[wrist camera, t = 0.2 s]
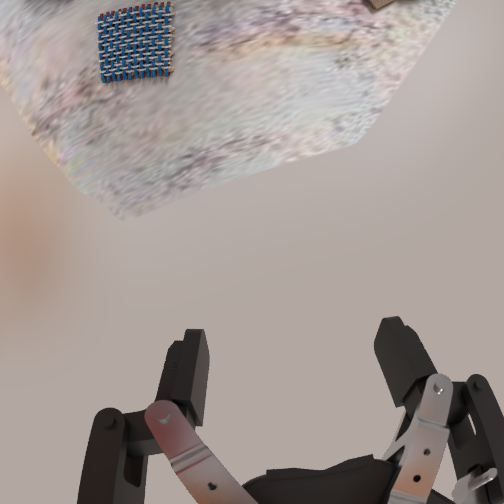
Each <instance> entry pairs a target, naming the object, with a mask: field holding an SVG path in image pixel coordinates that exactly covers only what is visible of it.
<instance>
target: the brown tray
mask: <svg viewBox="0 0 504 504" xmlns="http://www.w3.org/2000/svg"><path fill="white" fill-rule="evenodd" d="M367 1H368V2H369V3H370V5H371V6H372V7H373V9H378V8H379V7H381V6H383V5H385V4H387V3H389V2H391V1H393V0H367Z"/></svg>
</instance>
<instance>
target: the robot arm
mask: <svg viewBox="0 0 504 504" xmlns="http://www.w3.org/2000/svg"><path fill="white" fill-rule="evenodd" d="M374 351H375V354H376V357H377V359H378V362H379V364H380V367H381V369H382V372H383V374H384V377H385V379H386V382H387V385H388V387H389V390H390V393H391V395H392V398H393V401H394V404H395V406H396V408H397V407H400V406H405V409H406V410H405V411H404V413H403V416H402V418H401V421H400V424H399V426H398V429H397V431H396V433H395V436H394V438H393V441H392V443H391V445H390V447H389V448H388V450H387V451H386V452H385V454H384V456H383V457H382V459H381V460H379V459H374V458H373V454H371V455H367V456H362V457H358V458H354V459H349V460H346V461H344V462H342V463H340V464H338V465H335V466H333V467H330V468H328V469H325V470H309V469H300V468H288V469H272V470H267V471H266V474H265V475H262V476H259V477H256V478H254V479H251V480H249V481H248V482H246V483H245V484H243V485H242V486H241V485H240V484H239V483H238V482H237V481H236V480H235V478H234V477H233V476H232V475H231V474H230V473H229V472H228V471H227V469H226V468H225V467H224V466H223V465H222V464H221V462H220V461H219V460H218V459H217V458H216V456H215V455H214V454H213V453H212V451H210V449H209V448H208V447H207V446H206V445H205V444H204V443H203V441H202V440H201V439H200V438H199V436H198V435H197V434H196V432H195V426H202V425H203V416H204V407H205V398H206V388H207V380H208V371H209V350H208V345H207V341H206V336H205V332H204V330H203V329H187V330H186V332H185V335H184V340H183V341H174V343H173V344H172V345H171V346H170V348H169V349H168V352H167V356H166V361H165V363H164V369H163V371H162V375H161V379H160V383H159V387H158V391H157V396H156V399H155V401H154V402H153V403H152V404H150V405H149V406H148V407H147V409H145V410H142V411H138V412H132V413H125V414H122V413H121V412H120V411H119V410H118V409H115V408H105V409H103V410H101V411H99V412H98V413H97V414H96V416H95V418H94V421H93V425H92V429H91V433H90V437H89V442H88V446H87V450H86V455H85V460H84V464H83V470H82V475H81V481H80V486H79V493H78V500H77V504H144V498H145V486H146V474H147V464H148V455H154V454H160V453H164V454H165V455H166V457H167V458H168V460H169V462H170V463H171V466H172V469H173V470H174V472H175V473H176V475H177V476H178V478H179V479H180V481H181V482H182V483H183V485H184V486H185V487H186V489H187V490H188V491H189V493H190V494H191V495H192V497H193V498H194V499H195V500H196V502H197V503H198V504H503V503H504V417H503V414H502V412H501V409H500V407H499V405H498V403H497V400H496V398H495V396H494V394H493V391H492V389H491V387H490V385H489V383H488V381H487V380H486V378H485V377H483V376H482V375H479V374H474V375H471V376H470V377H469V378H468V380H467V381H466V382H451V380H450V379H449V378H448V377H447V376H445V375H443V374H439V373H438V372H437V370H436V369H435V367H434V365H433V363H432V361H431V359H430V357H429V356H428V353H427V352H426V350H425V349H424V346H423V344H422V342H420V339H419V337H418V335H417V333H416V332H415V331H414V330H413V329H411V328H410V327H409V326H404V324H403V322H402V320H401V319H400V317H398V316H395V317H389V318H383V319H382V321H381V324H380V326H379V329H378V332H377V335H376V338H375V341H374ZM469 414H470V416H471V418H472V421H473V424H474V427H475V430H476V435H475V434H474V431H473V428H472V426H471V423H470V420H469V417H468V415H469ZM447 442H448V446H449V449H450V453H451V457H452V460H453V464H454V468H455V472H456V477H457V483H456V485H455V488H454V490H453V491H452V497H453V498H454V500H453V501H452V500H450V499H448V498H447V497H445V496H443V495H441V494H440V493H438V492H437V491H435V490H433V489H432V486H433V483H434V481H435V478H436V475H437V472H438V470H439V467H440V464H441V461H442V458H443V454H444V451H445V448H446V444H447Z"/></svg>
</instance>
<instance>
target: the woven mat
mask: <svg viewBox="0 0 504 504" xmlns="http://www.w3.org/2000/svg"><path fill="white" fill-rule="evenodd" d="M154 4H155V5H153V6H151V4H148V6H146V7H145V4H143V5H142V7H140V8H139V6H135V8H134V9H132V7H129V10H126V8H124V9H123V11H122V10H121V9H119V10H118V12H116V13H115V11H111V14H109V12H107V13H106V15H104V16H103V14H100V16H99V17H98V20H97V23H95V24H98V26H97V28H98V30H99V31H97V33H98V32H99V34H98V35H97V36H98V37H96V39H98V42H97V43H99V44H98V47H99V49H98V51H100V52H97V54H98V53H99V56H98V58H100V61H99V64H100V67H99V69H101V71H100V73H101V75H100V77H101V80H102V81H103V83H106V82H107V83H110V82H111V81H117V80H118V82H119V81H121V80H123V76H124V80H126V79H128V75H129V80H132V78H134V76H135V78H139V74H140V79H142V78H144V77H145V73H147V77H151V72H152V78H153V77H155V76H157V72H159V76H163V72H165V77H166V76H168V75H170V72H171V71H174V67H173V66H172V67H171V66H170V64H171V61H172V58H169V57H171V55H172V54H174V51H172V50H169V47H171V46H172V43H171V42H172V41H169V40H172V39H174V34H173V35H172V34H170V32H171V31H174V30H175V28H174V27H172V25H171V24H172V20H171V19H170V16H172V15H175V12H174V11H173V4H170V2H167V4H164V2H162V3H161V4H160V5H158V2H155V3H154ZM158 10H159V11H158ZM151 13H152V14H151ZM144 14H146V15H144ZM121 16H122V17H121ZM132 16H133V17H132ZM165 16H166V17H165ZM126 17H127V18H126ZM157 17H158V18H159V20H157ZM163 17H165V19H163ZM151 18H152V20H151ZM144 19H145V20H146V21H145V22H144ZM132 21H133V24H132ZM126 22H127V25H126ZM120 23H121V24H120ZM121 25H122V26H121ZM163 25H166V26H163ZM109 27H110V28H109ZM144 27H145V28H144ZM138 28H140V29H138ZM126 30H128V31H126ZM163 32H165V35H163ZM157 33H158V35H157ZM150 34H151V35H152V36H150ZM104 35H105V36H104ZM138 35H139V38H138ZM126 37H127V39H128V40H127V39H126ZM164 40H165V41H164ZM115 41H116V42H115ZM156 41H158V42H156ZM150 42H151V43H150ZM138 43H139V44H138ZM132 44H134V45H132ZM121 46H122V47H121ZM164 48H165V51H163V49H164ZM150 49H152V52H150ZM156 49H158V52H157V50H156ZM144 50H145V51H146V53H144ZM139 51H140V53H139ZM132 52H133V53H134V54H132ZM121 54H122V56H121ZM150 56H152V57H150ZM110 57H111V58H110ZM163 57H165V58H163ZM127 59H128V60H127ZM116 63H117V64H116ZM106 65H107V66H106ZM151 65H152V68H151ZM157 65H158V67H157ZM163 65H165V67H163ZM145 66H146V68H145ZM139 67H140V69H139ZM128 70H129V71H128ZM111 71H112V72H111ZM117 77H118V78H117ZM112 78H113V80H112Z"/></svg>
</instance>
